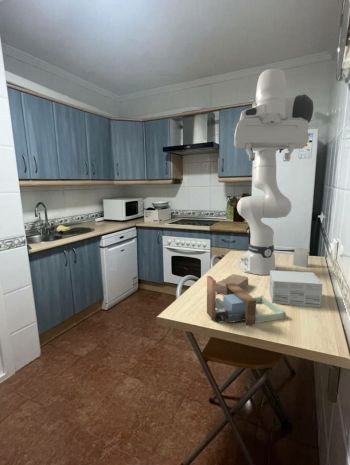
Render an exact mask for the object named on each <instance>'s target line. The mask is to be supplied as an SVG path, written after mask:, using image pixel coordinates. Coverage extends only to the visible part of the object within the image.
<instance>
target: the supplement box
mask: <svg viewBox="0 0 350 465" xmlns="http://www.w3.org/2000/svg"><path fill="white" fill-rule="evenodd" d="M268 288H269V289H268V291H269V295H270V299H271V302H272V303H273V304H279V305H291V306H304V307H316V308H321V307H322V297H323V282H322V281H321V280H320V279H319V278H318V276H316V274H315V273H314V272H313V271H311V272H309V271H308V272H307V271H293V270H292V271H291V270H290V271H289V270H275V271H273V270H270V274H269V287H268Z"/></svg>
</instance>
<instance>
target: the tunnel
mask: <svg viewBox="0 0 350 465" xmlns="http://www.w3.org/2000/svg"><path fill="white" fill-rule="evenodd" d="M234 293H235V294H236V295H237V296H238V297H240V298H241V299H242V300H243V301H244V302H245V303H246V310H245V320H244V325H245V326H247V327H248V326H249V327H251V326H256V322H255V320H256V315H257V313H256V312H257V303H256V300H255V299H254V298H253V297H254V296H252V295H251V294H249V293H248V292H246V291H245V290H244V289H243V290H242V289H241V288H240V287H239V286H237V285H236V284H235V283H233V282H230V283H226V292H225V295H230V294H234Z"/></svg>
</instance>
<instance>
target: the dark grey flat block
mask: <svg viewBox="0 0 350 465" xmlns="http://www.w3.org/2000/svg"><path fill="white" fill-rule="evenodd" d="M213 320H214V321H215V322H216V323H220V322H225V321H226V319H225V318H224V317H223V316H217V317H215V319H213Z"/></svg>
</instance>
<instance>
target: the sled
mask: <svg viewBox="0 0 350 465" xmlns="http://www.w3.org/2000/svg"><path fill="white" fill-rule="evenodd" d="M216 282H217V281H216V279H214V278H213V277H212V276H211V275H207V276H206V313H207V315H208V316H209V318H210V319H211V320H214V319H215V317H217V316H221V317H222V318H223V319H224V320H225V321H227V323H231V322H239V321H245V313H239V314H232V315H231V310H230V309H229V308H228V307H227V306H226V305H225V304H224V303H223V300H221V299H220V298H216V297H217V296H216V295H217V292H216Z"/></svg>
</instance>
